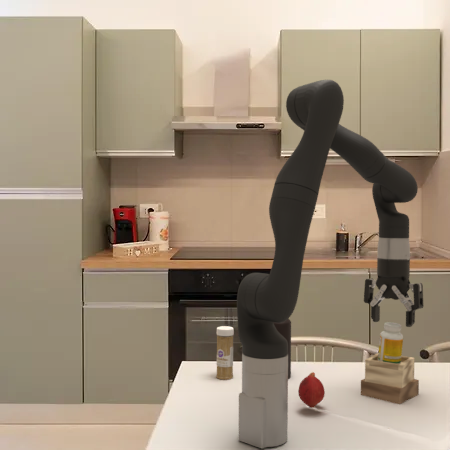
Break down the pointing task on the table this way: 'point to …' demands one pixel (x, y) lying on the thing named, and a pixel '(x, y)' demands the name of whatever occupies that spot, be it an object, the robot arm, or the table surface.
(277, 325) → the vinegar
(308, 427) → the table surface
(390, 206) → the robot arm
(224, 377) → the sprinkles bottle
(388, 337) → the supplement bottle
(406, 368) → the tower top
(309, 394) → the onion
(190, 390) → the table surface
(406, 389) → the tower base
